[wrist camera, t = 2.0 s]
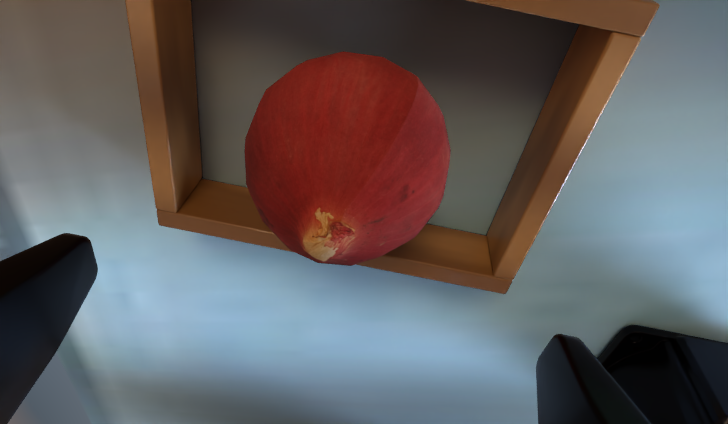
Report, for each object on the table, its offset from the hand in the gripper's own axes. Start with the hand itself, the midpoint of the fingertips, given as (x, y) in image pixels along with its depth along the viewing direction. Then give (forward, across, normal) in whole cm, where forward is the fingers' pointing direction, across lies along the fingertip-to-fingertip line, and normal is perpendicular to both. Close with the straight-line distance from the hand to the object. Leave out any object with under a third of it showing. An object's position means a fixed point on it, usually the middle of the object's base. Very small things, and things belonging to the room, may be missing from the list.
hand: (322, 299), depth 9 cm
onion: (+9, 0, 0) cm, 9 cm away
